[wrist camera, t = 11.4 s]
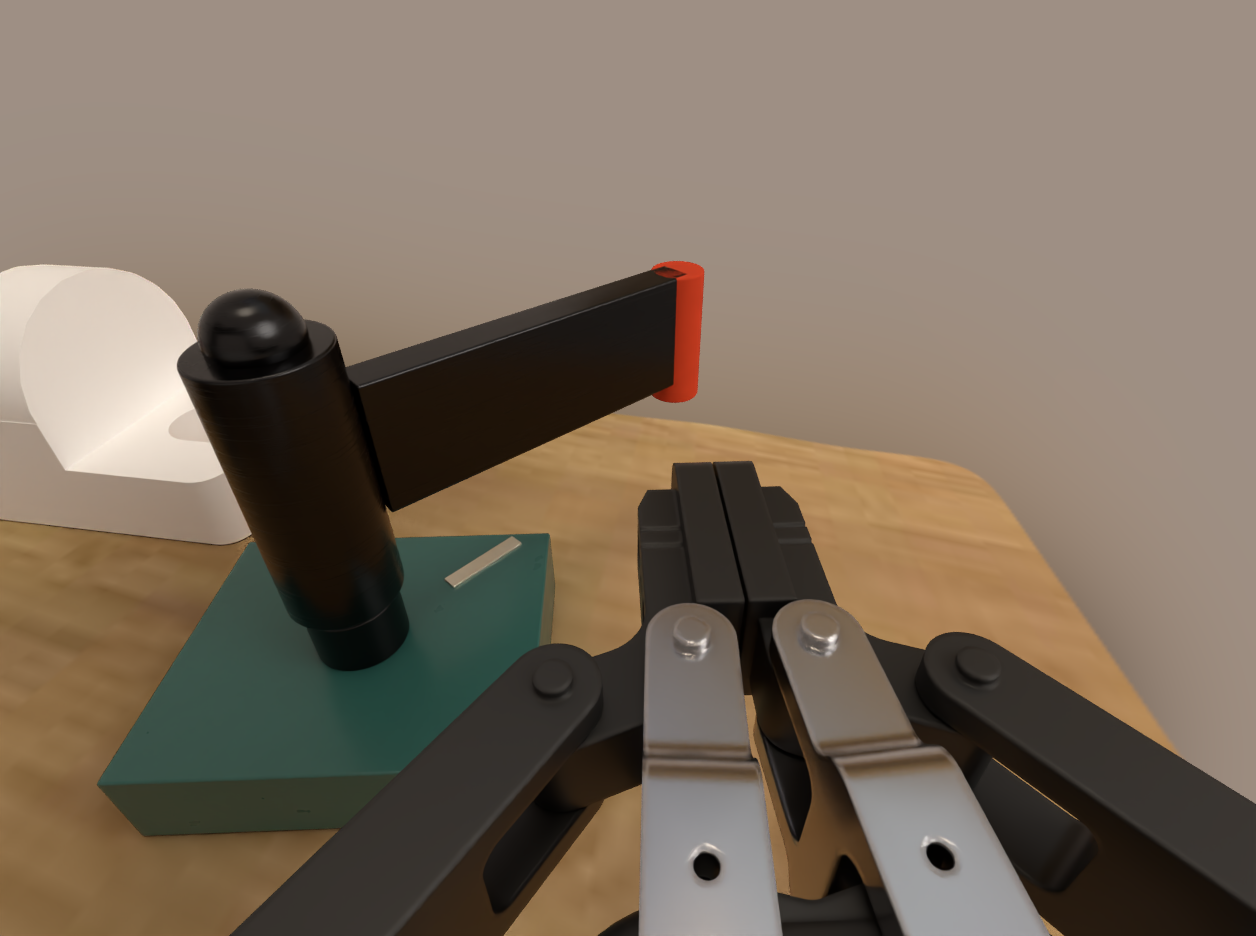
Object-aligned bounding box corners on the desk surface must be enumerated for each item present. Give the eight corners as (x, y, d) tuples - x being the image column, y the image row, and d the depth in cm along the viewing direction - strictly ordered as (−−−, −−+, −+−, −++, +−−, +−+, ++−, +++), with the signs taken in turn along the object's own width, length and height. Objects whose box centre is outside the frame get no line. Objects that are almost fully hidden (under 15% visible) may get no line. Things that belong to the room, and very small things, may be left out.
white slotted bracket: (73, 411, 41) (-30, 232, 35) (345, 435, 38) (287, 247, 32) (-86, 509, 33) (-257, 302, 27) (239, 547, 31) (136, 329, 24)
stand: (141, 837, 20) (57, 743, 17) (273, 593, 28) (230, 502, 25) (537, 821, 20) (520, 727, 18) (555, 585, 29) (545, 493, 26)
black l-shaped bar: (310, 652, 19) (169, 338, 13) (270, 584, 21) (134, 290, 16) (718, 434, 28) (738, 191, 23) (660, 402, 31) (665, 174, 25)
